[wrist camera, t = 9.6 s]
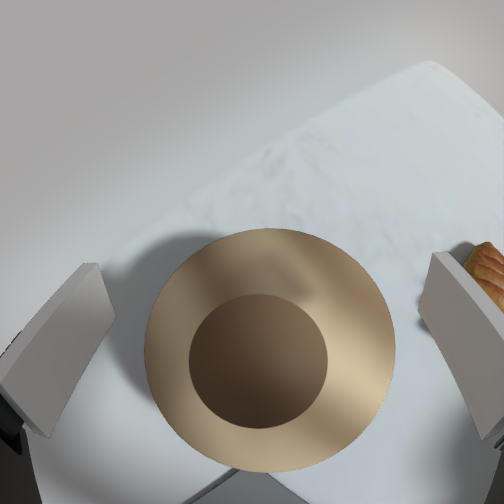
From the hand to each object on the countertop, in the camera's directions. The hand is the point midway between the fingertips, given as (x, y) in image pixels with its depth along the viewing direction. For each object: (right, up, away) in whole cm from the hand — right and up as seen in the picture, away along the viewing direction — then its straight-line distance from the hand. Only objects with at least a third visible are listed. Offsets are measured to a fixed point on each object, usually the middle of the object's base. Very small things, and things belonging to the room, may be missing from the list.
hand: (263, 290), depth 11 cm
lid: (+1, -4, +5) cm, 7 cm away
